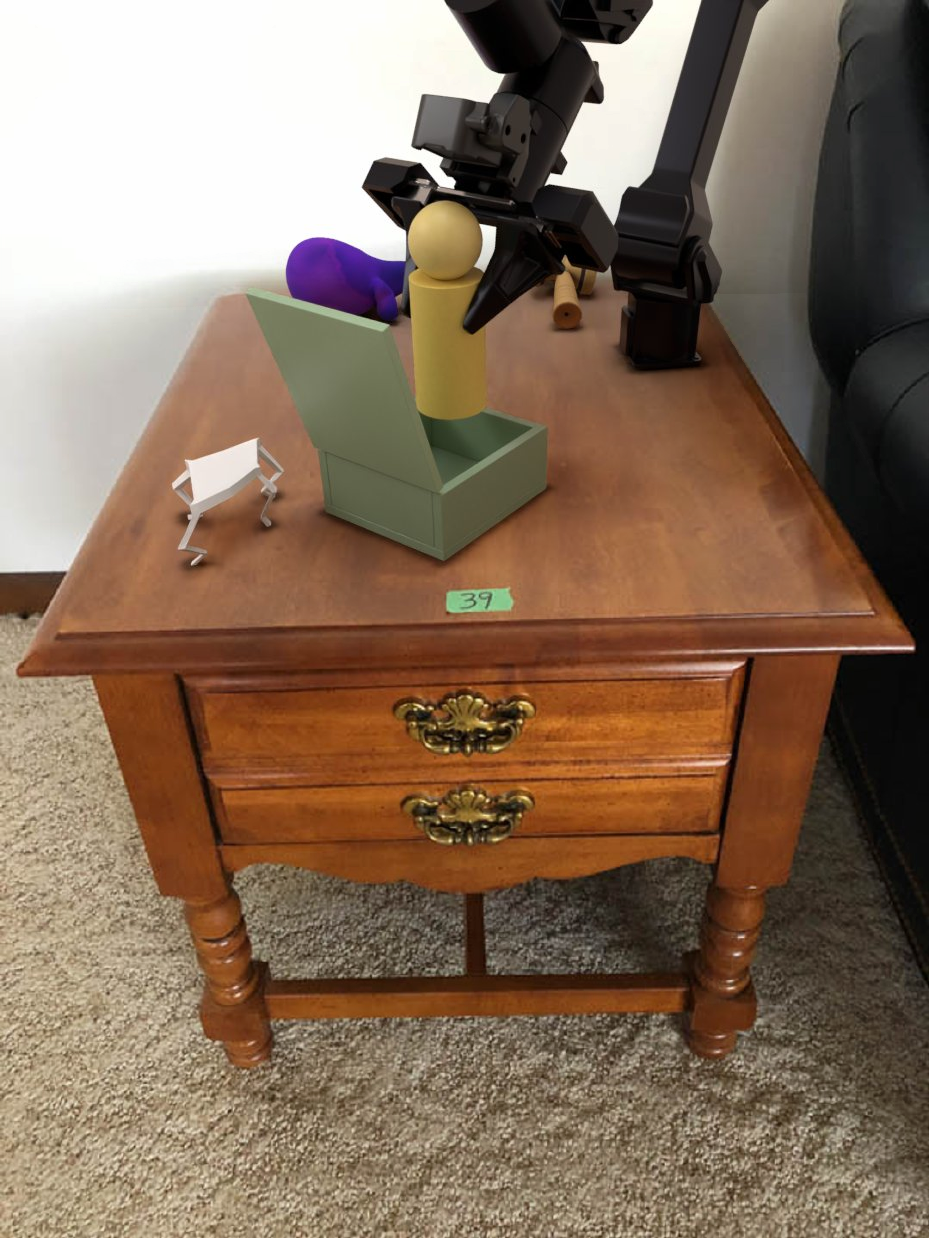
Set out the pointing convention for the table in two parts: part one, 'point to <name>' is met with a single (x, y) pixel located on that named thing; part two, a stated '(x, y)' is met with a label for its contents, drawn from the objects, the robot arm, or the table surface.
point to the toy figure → (446, 312)
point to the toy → (344, 278)
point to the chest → (445, 483)
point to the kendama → (569, 293)
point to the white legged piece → (223, 482)
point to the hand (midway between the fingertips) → (435, 323)
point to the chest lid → (348, 386)
